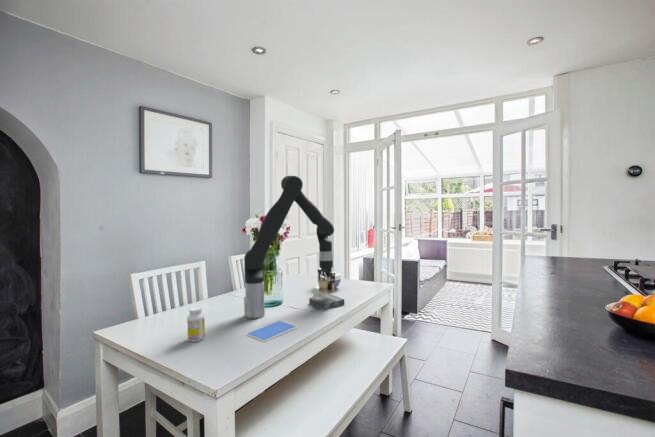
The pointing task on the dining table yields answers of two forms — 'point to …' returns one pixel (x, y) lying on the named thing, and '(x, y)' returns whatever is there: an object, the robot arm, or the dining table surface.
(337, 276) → the bowl
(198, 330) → the supplement bottle
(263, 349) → the dining table surface
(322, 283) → the oak block
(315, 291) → the sage block
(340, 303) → the slate base
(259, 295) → the robot arm
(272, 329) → the tablet computer
